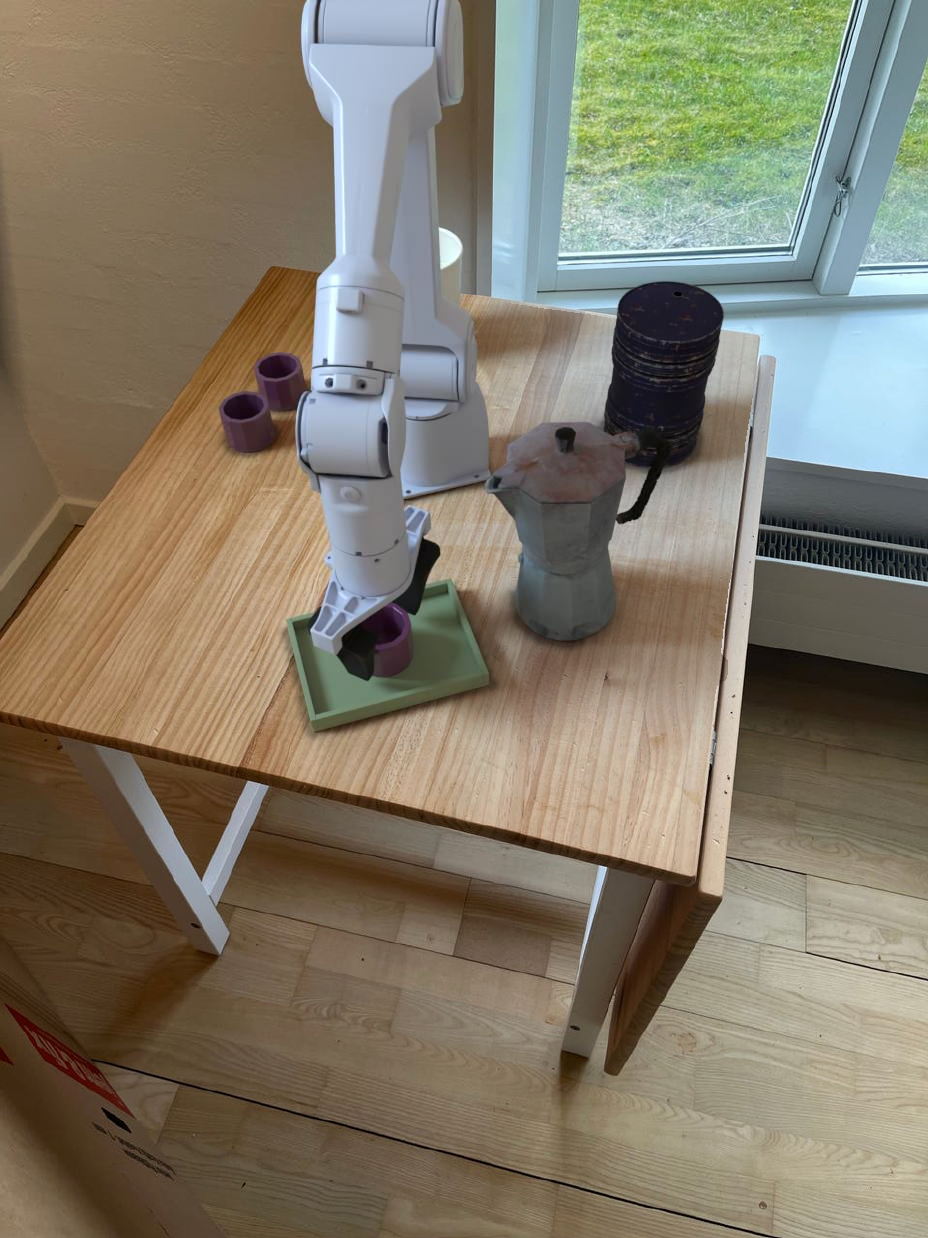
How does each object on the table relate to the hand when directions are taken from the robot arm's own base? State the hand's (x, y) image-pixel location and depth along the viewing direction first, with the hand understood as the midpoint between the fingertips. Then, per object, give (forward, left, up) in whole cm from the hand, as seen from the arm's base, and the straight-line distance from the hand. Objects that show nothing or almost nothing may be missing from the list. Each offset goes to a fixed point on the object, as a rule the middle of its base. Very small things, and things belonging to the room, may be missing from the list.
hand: (384, 640), depth 80 cm
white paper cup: (-15, -42, -2) cm, 45 cm away
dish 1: (+7, -32, -2) cm, 33 cm away
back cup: (+2, -38, -2) cm, 38 cm away
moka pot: (-17, -1, -2) cm, 17 cm away
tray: (0, 0, -2) cm, 2 cm away
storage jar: (-33, -19, -2) cm, 38 cm away
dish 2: (0, 0, -2) cm, 2 cm away
